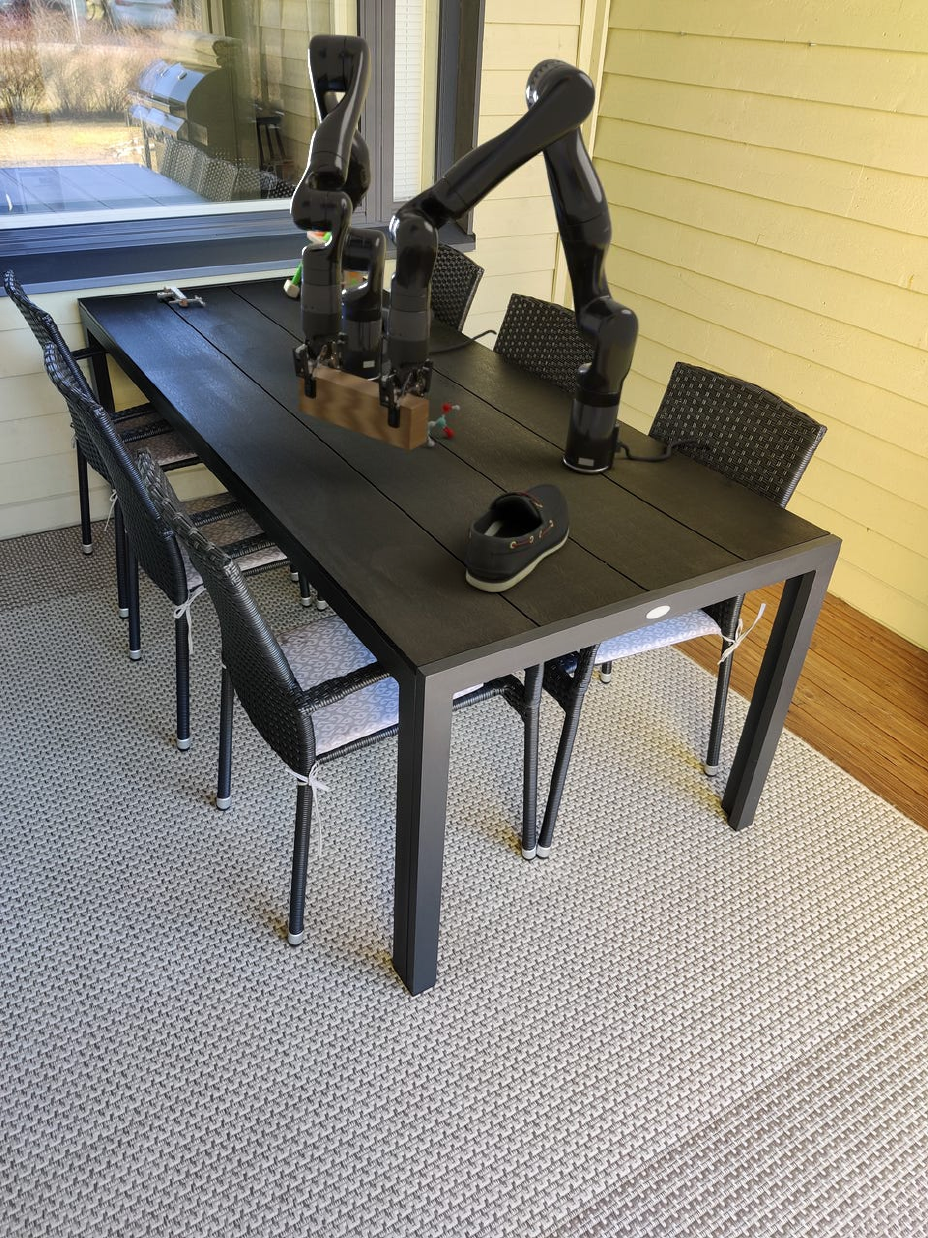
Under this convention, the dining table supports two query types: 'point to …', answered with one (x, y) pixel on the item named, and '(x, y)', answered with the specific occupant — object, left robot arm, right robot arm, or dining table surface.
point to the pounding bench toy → (346, 276)
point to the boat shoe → (515, 536)
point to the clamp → (178, 296)
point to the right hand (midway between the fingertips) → (404, 421)
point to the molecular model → (442, 423)
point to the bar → (364, 408)
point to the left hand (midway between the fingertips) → (321, 392)
